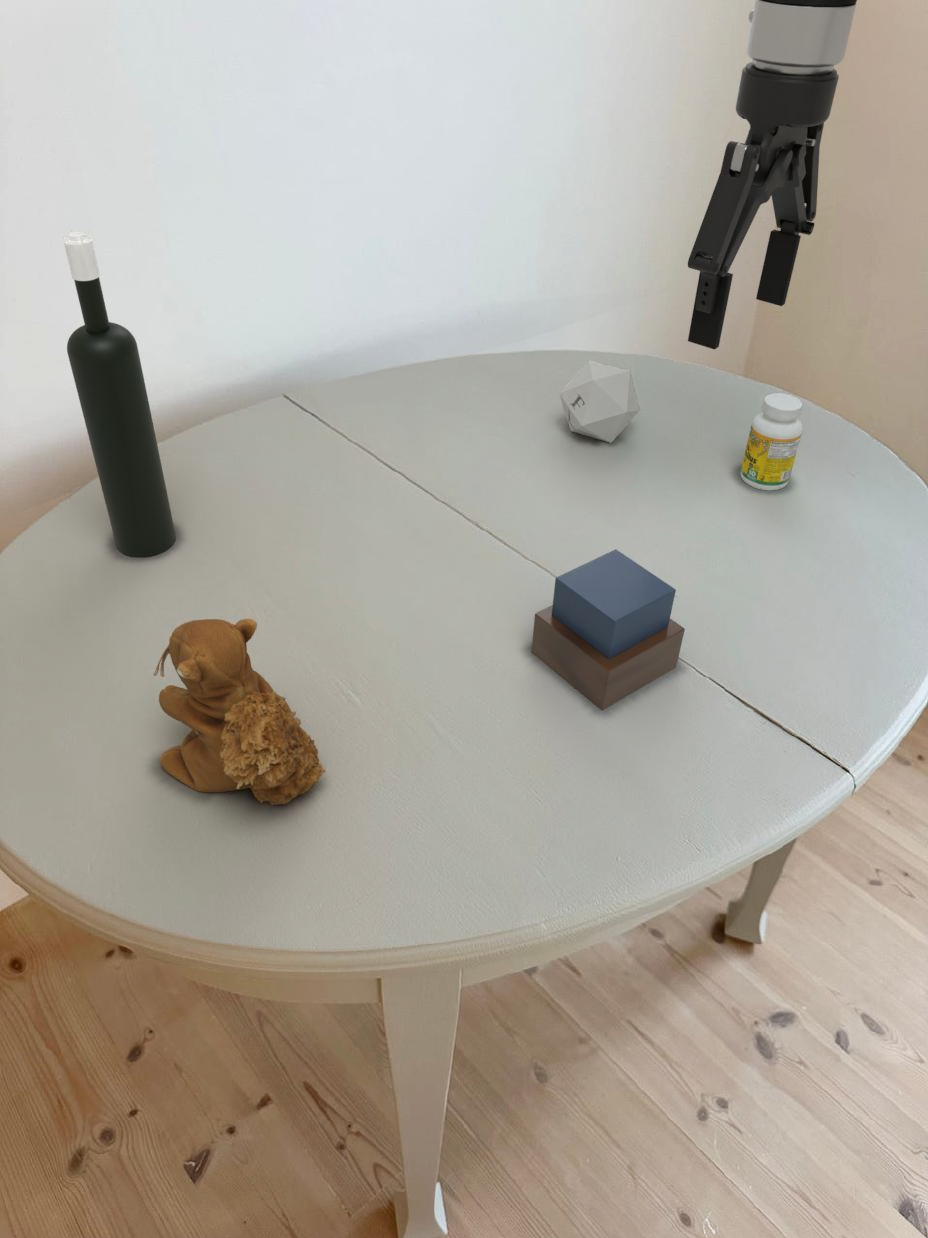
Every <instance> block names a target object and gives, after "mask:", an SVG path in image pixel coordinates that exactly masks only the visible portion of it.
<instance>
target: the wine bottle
mask: <svg viewBox="0 0 928 1238" xmlns="http://www.w3.org/2000/svg"><path fill="white" fill-rule="evenodd" d="M62 238H63V244H64V248H65V252H66V256H67V261H68V266H69V270H70V274H71V278H72V279H73V281H74V286H75V289H76V294H77V299H78V303H79V306H80V310H81V311H80V312H81V314H82V319H83V323H84V324H83V325H81V326H79V327H77V328H76V329H75V330H74V331H73V332H72V333H71V335H70V336H69V338H68V340H67V343H66V352H67V356H68V361H69V365H70V369H71V372H72V376H73V377H72V378H73V380H74V384H75V389H76V392H77V396H78V400H79V404H80V407H81V411H82V416H83V420H84V424H85V428H86V431H87V435H88V439H89V443H90V447H91V451H92V455H93V459H94V463H95V468H96V471H97V475H98V479H99V483H100V487H101V491H102V494H103V498H104V503H105V506H106V510H107V514H108V518H109V519H108V520H109V523H110V526H111V530H112V535H113V539H114V541H115V546H116V548H117V551H118V552H119V553H121V554H122V555H124V556H127V557H131V558H137V559H142V558H144V559H145V558H150V557H151V558H152V557H155V556H158V555H161V554H163V553H165V552H166V551H168V550H169V549H171V548H172V547H173V546H174V545H175V542H176V539H177V535H176V530H175V524H174V520H173V514H172V511H171V505H170V501H169V495H168V491H167V486H166V481H165V476H164V475H165V474H164V470H163V465H162V460H161V456H160V451H159V450H160V449H159V446H158V441H157V437H156V432H155V426H154V422H153V417H152V412H151V411H152V410H151V407H150V401H149V396H148V392H147V391H148V390H147V387H146V386H147V385H146V381H145V378H144V373H143V372H144V371H143V367H142V363H141V358H140V353H139V347H138V343H137V340H136V337H135V336H134V335H133V334H132V332H131V331H130V330H129V329H127V328H126V327H125V326H122V325H121V324H119V323H116V322H112V321H110V320H109V317H108V311H107V307H106V303H105V298H104V294H103V289H102V285H101V280H100V279H101V278H100V276H101V274H100V269H99V265H98V261H97V256H96V251H95V246H94V242H93V238H92V235H91V232H90V231H86V232H85V231H73V230H71V232H69V233H68V234H67V235H65V236H63V237H62Z"/></svg>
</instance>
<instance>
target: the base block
mask: <svg viewBox="0 0 928 1238" xmlns="http://www.w3.org/2000/svg"><path fill="white" fill-rule="evenodd" d="M552 607H553V604H552V605H550V606H547V607H545V608H543V609H542V610H539V611H537V612H535V613H534V620H533V630H532V640H531V653H532V654H533V655H534V656H535V657H536V658H537V659H539V660H540V661H541V662H542V663H544V664H545V665H546V666H547V667H549V669H551V670H552V671H553V672H554V673H556V675H558V676H559V677H560V678H562V679H563V681H565V682H567V683H568V684H569V685H570V686H571V687H572V688H573V689H575V690H576V691H577V692H579V694H581V695H582V696H583V697H584V698H586V699H587V700H588V701H589V702H591V703H592V704H593V705H594V706H596V707H597V708H598V709H599V710H600V711H604V710H606V709H608V708H609V707H611V706H612V705H614V704H616V703H618V702H620V701H622V700H623V699H624V698H625V699H626V698H627V697H628V696H630V695H632V694H633V693H635V692H637V691H638V690H641V689H642V688H644V687H645V686H648V685H649V684H650V683H652V682H654V681H656V680H657V679H660V678H661V677H662V676H664V675H666V674H668V673H669V672H671V671H673V670H675V669H676V668H677V665H678V662H679V657H680V652H681V648H682V644H683V639H684V634H685V631H686V629H685V628H684V627H683V626H682V625H681V624H679V623H678V622H676V621H675V620H673V619H672V618H670V620H669V625H668V627H666V628H665V629H663V630H661V631H659V632H657V633H656V634H654V635H652V636H650V637H648V638H646V639H645V640H643V641H641V642H639V643H637V644H636V645H634V646H632V647H630V648H628V649H626V650H625V651H623V652H621V653H619V654H617V655H616V656H614V657H612V658H610V659H608V658H607V657H605V656H604V655H603V654H602V653H600V652H599V651H598V650H596V649H595V648H594V647H593V646H591V645H590V644H589V643H587V642H586V641H585V640H583V639H582V638H581V637H580V636H578V635H577V634H576V633H574V632H573V631H572V630H571V629H569V628H568V627H567V626H565V625H564V624H563V623H562V622H560V621H559V620H558V619H556V618H555V617H554V616H553V615H552Z"/></svg>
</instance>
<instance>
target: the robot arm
mask: <svg viewBox="0 0 928 1238" xmlns="http://www.w3.org/2000/svg"><path fill="white" fill-rule="evenodd" d="M754 2H755V3H754V7H753V9H751V11H750V12H749V14H748V18H747V19H748V21H749V23H750V29H749V34H748V41H747V45H746V46H747V47H746V55H747V56H748V58H749V59H752V61H751V62H748V63H746V65H745V66H744V67H743V68H742V71H741V76H740V80H739V87H738V93H737V98H736V103H735V112H736V114H737V116H739V118H741V119H743V120H746V121H747V122H748V124H749V130H748V133H747V136H746V139H745V141H744V143H743V142H738V141H733V140H730V141H728V142H727V145H726V147H725V150H724V153H723V159H722V163H721V168H720V172H719V175H718V177H717V180H716V183H715V186H714V188H713V191H712V194H711V197H710V200H709V203H708V205H707V208H706V211H705V213H704V215H703V219H702V222H701V223H700V227H699V230H698V232H697V235H696V238H695V241H694V243H693V246H692V249H691V252H690V253H689V257H688V260H687V268H688V269H690V270H691V269H692V270H694V271H699V275H698V282H697V286H696V292H695V297H694V302H693V308H692V315H691V321H690V326H689V332H688V337H687V342H689V343H692V344H695V345H699V346H702V347H705V348H707V349H712V350H716V349H717V348H719V347H720V343H721V337H722V333H723V327H724V323H725V317H726V312H727V306H728V302H729V297H730V291H731V287H732V282H733V277H734V273H730V272H729V271H730V269H731V267H732V265H733V263H734V262H735V261H734V260H735V258H736V256H737V254H738V253H739V250H740V248H741V246H742V244H743V242H744V240H745V238H746V236H747V234H748V231H749V229H750V227H751V225H752V224H753V221H754V220H755V217H756V215H757V213H758V211H759V209H760V207H761V206H762V205H763V204H765V203H768V202H769V200H770V199H771V201H772V208H773V212H774V218H775V224H776V228H777V229H772V230H770V233H769V236H768V237H769V238H768V241H767V246H766V251H765V256H764V259H763V260H764V261H763V265H762V269H761V273H760V278H759V284H758V288H757V291H756V292H757V293H756V296H755V298H756V299H755V300H758V301H761V302H764V303H768V304H772V305H775V306H779V307H783V306H784V305H785V304H786V300H787V297H788V292H789V288H790V283H791V280H792V275H793V272H794V267H795V263H796V259H797V254H798V250H799V246H800V242H801V237H802V235H808V236H810V235H811V234H812V233H813V231H814V228H815V222H813V221H814V219H815V218H816V216H817V205H818V190H819V189H818V187H819V186H818V185H819V166H820V148H821V147H820V146H821V142H822V136H823V130H824V126H825V122H827V120H829V118H830V115H831V112H832V111H831V110H832V107H833V104H834V103H833V102H834V99H835V95H836V90H837V85H838V82H839V77H840V75H839V74H838V71H837V69H835V66H837V65H839V64H840V63H842V62H843V61H844V59H845V55H846V51H847V47H848V43H849V38H850V34H851V30H852V24H853V20H854V16H855V10H856V6H857V2H858V0H755V1H754ZM778 229H780V230H778ZM800 234H802V235H800Z"/></svg>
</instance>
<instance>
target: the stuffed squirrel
mask: <svg viewBox="0 0 928 1238" xmlns="http://www.w3.org/2000/svg"><path fill="white" fill-rule="evenodd" d="M257 628H258V622H257V621H256V619H254V618H243V619H240V620H238V621H237V622H236V623H235V624H233V623H231V622H230V621H227V620H225V619H219V618H209V619H208V618H206V619H193V620H190V621H186V622H184V623H181V624H180V625H179V626H177V627H175V629H174V630H173V631H172V632H171V635H170V637H169V639H168V640H169V642H168V645H167V646H166V648H165V649H164V651H162V652H163V653H162V654H161V656H160V658H159V660H158V663H157V665H156V667H155V670H154V672H153V676H154V677H156V676H157V675H158V673H159V672H160V677H162V678H164V677H165V661H166V659H167V657H168V655H169V656H170V660H171V663H172V665H173V667H174V669H175V672H176V673H177V676H178V677H179V679H180V681H181V682H182V683H183V685H184V686H185V688H184V687H180V686H177V685H172V684H169V685H167V686H165V688H164V689H161V691H159V695H158V703H159V706H160V708H161V710H162V711H163V713H165V714H166V715H167V716H169V717H171V718H172V719H174V720H176V721H177V722H180V723H182V724H183V725H184V726H187V727H188V728H189V729H191V731H190V732H189V733H188V734H187V735H186V736H185V737H184V739H183V741H182V743H181V745H176V746H173V747H169V748H168V749H166V750H164V751H163V753H162V754H161V756H160V758H159V764H160V766H161V767H162V768H163V770H164V771H166V773H167V774H169V775H170V776H171V777H173V778H174V779H176V780H178V781H179V782H181V783H183V784H184V785H186V786H187V787H189V788H191V789H192V790H195V791H197V792H200V793H224V792H232V791H233V792H234V791H238V790H245V789H250V791H252V792H251V794H253V797H255V798H256V800H257V801H259V803H260V804H261V803H264V802H269V804H270V805H271V806H274V805H275V806H276V805H286V804H288V803H290V802H291V800H293V799H294V798H297V796H299V795H303V794H305V793H307V792H309V791H310V790H311V789H312V787H313V786H314V785H315V784H317V783H318V782H319V780H320V778H321V777H322V776H323V775H324V773H326V772H327V771H326V769H324V768H323V764H321V763H320V759H319V756H318V755H319V751H318V748H317V746H316V745H315V739H312V737H311V735H309V734H308V733H307V731H305V729H303V728H302V727H301V723H302V720H301V719H300V718H298V717H297V716H296V714H297V713H296V712H297V711H292V710H291V707H290V706H289V704H288V703H287V701H286V699H287V697H285V696H281V695H279V694H277V692H276V691H274V689H273V687H272V686H271V684H270V683H269V682H268V681H266V679H265V677H263V676H262V675H261V674H260V673H259V672H258V671H257V670H254V669H253V667H252V662H251V657H250V655H249V653H248V648H247V647H248V646H247V643H248V642H249V641H250V640H251V639H252V638H253V636H254V634H255V632H256V630H257ZM159 670H160V671H159ZM295 716H296V717H295Z"/></svg>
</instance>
